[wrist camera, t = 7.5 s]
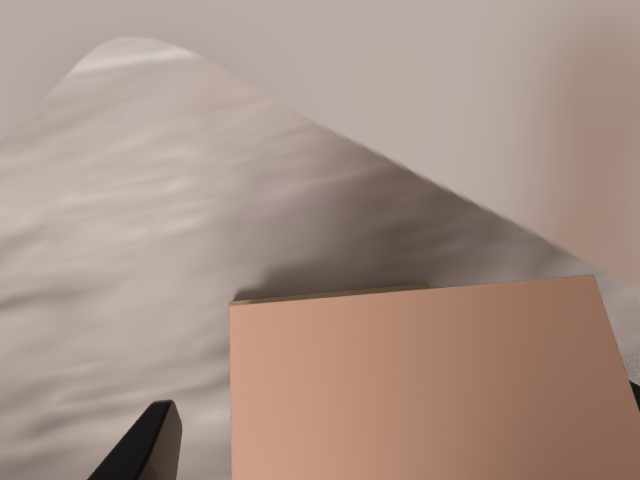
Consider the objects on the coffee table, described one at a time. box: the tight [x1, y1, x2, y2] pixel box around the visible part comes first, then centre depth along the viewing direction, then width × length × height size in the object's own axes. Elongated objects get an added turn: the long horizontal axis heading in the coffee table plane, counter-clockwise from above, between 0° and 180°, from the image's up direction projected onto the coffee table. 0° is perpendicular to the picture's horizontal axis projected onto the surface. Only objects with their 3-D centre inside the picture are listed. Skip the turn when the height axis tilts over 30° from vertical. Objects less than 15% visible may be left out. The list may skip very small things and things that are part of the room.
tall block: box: [229, 275, 640, 480], centre depth 10 cm, size 5×5×12 cm
